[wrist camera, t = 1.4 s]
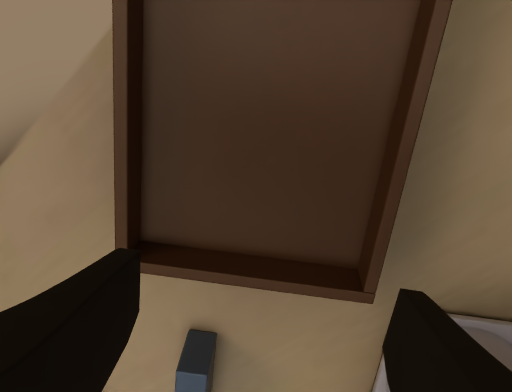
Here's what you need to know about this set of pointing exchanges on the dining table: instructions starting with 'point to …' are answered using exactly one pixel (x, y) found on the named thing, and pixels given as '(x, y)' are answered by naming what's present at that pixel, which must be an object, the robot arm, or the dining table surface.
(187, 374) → the blue block and disc
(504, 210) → the dining table surface
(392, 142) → the tray
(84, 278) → the robot arm
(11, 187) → the dining table surface
